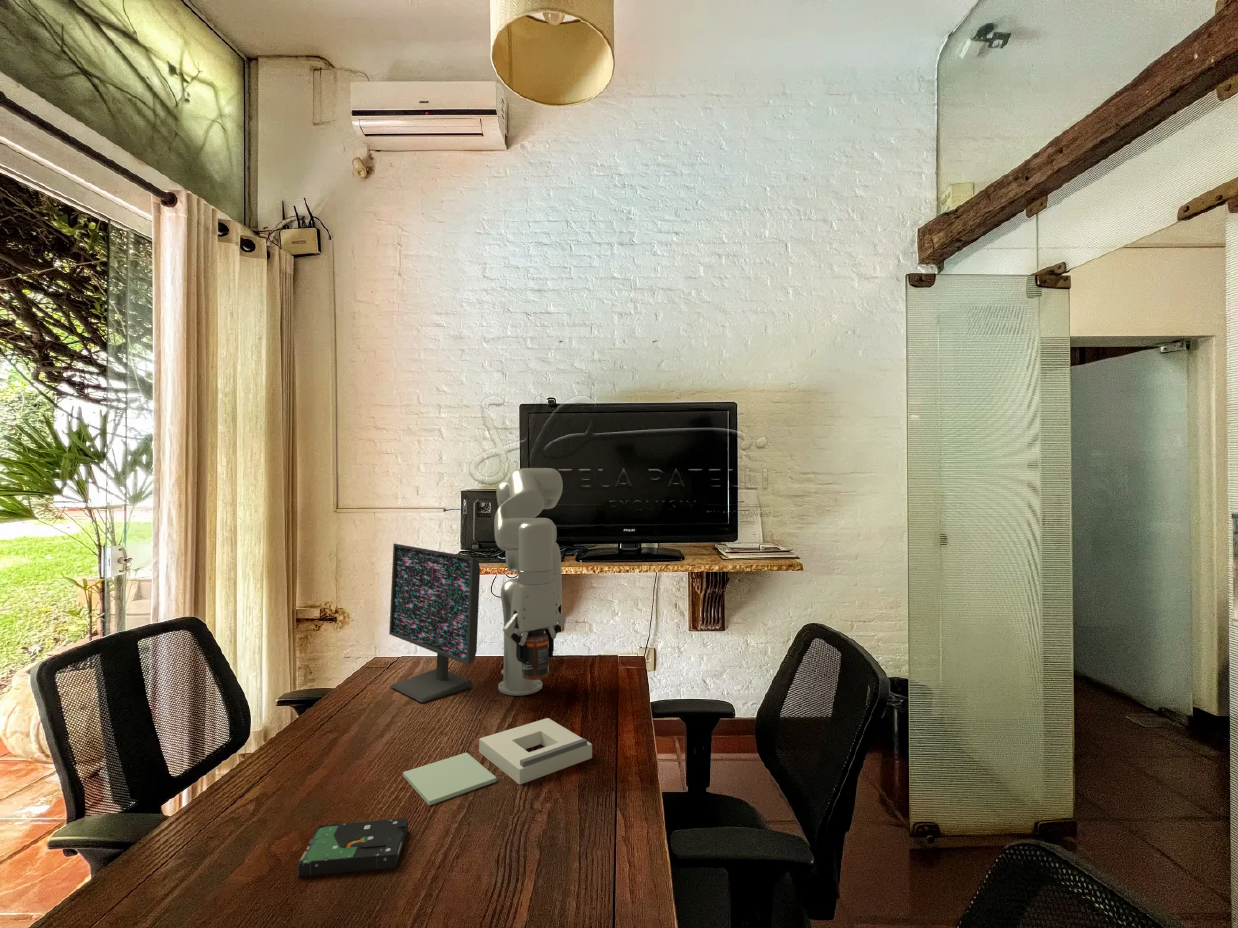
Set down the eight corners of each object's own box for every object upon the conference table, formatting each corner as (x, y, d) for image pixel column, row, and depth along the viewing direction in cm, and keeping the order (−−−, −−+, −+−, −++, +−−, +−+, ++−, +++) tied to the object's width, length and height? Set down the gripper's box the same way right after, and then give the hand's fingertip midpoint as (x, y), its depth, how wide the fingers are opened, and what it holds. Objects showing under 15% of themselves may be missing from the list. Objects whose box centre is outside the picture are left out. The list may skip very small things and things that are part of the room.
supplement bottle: (553, 673, 136) (553, 623, 136) (541, 682, 130) (541, 630, 130) (529, 670, 138) (529, 621, 138) (516, 679, 132) (516, 627, 132)
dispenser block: (479, 751, 135) (479, 733, 135) (547, 730, 146) (547, 713, 146) (519, 784, 121) (519, 764, 121) (592, 757, 132) (592, 739, 132)
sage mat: (402, 776, 124) (402, 772, 124) (466, 755, 133) (466, 752, 133) (429, 805, 113) (429, 801, 113) (496, 781, 122) (496, 777, 122)
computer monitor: (369, 677, 183) (370, 545, 184) (419, 664, 195) (419, 540, 196) (447, 717, 154) (448, 560, 154) (499, 700, 166) (500, 553, 166)
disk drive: (408, 832, 106) (317, 840, 104) (408, 816, 106) (318, 823, 104) (396, 871, 96) (296, 880, 93) (397, 853, 96) (296, 862, 93)
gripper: (558, 571, 142) (558, 647, 142) (492, 579, 132) (491, 662, 132) (577, 575, 137) (576, 655, 137) (509, 584, 126) (508, 671, 126)
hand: (535, 657), depth 134 cm, fingers closed on supplement bottle, 6 cm apart
